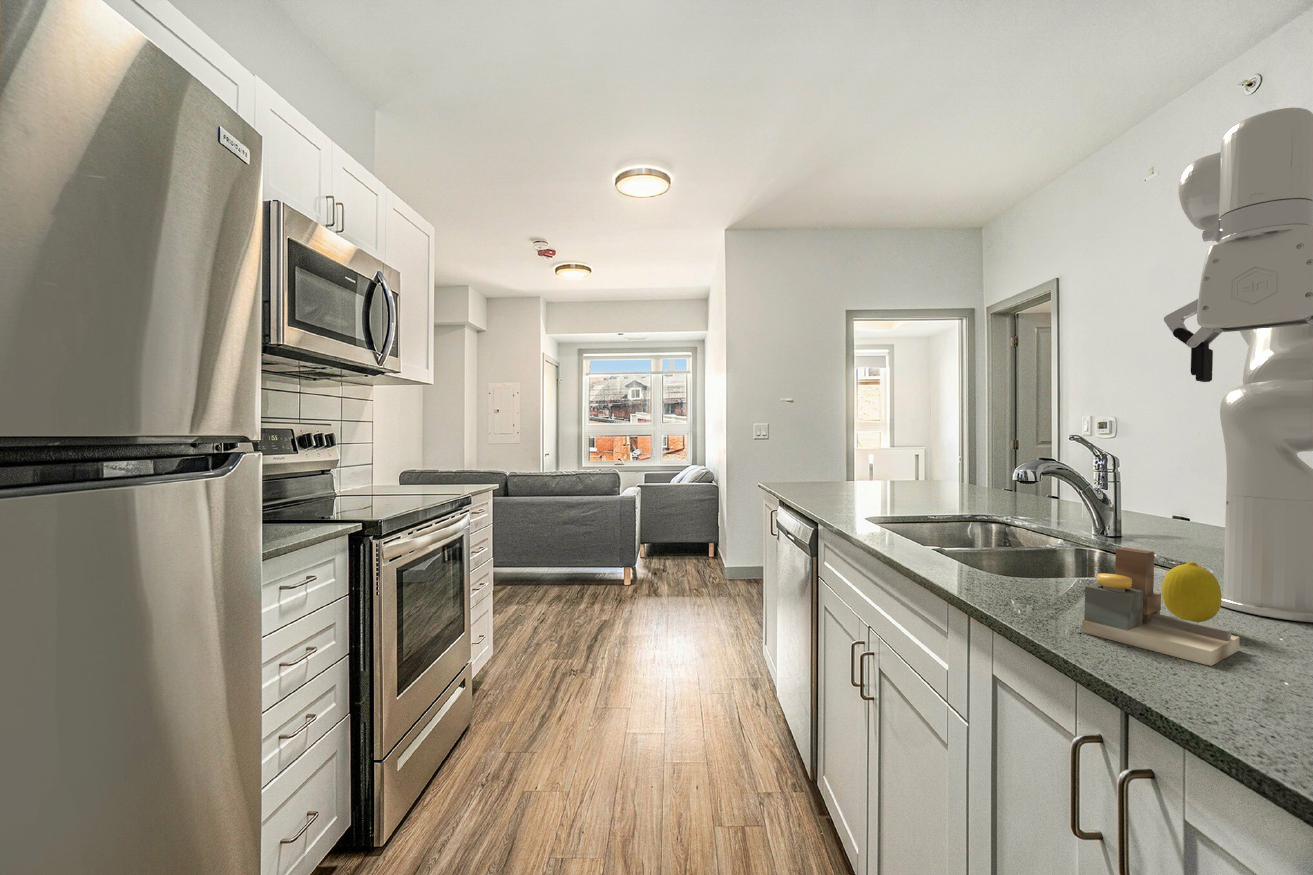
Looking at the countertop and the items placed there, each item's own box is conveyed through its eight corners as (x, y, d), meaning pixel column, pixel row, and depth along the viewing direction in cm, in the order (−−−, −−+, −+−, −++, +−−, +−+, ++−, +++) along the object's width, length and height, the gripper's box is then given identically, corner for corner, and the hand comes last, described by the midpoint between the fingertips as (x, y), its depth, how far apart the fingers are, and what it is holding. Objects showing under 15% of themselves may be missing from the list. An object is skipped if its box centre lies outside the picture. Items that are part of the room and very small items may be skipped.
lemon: (1232, 635, 70) (1234, 568, 70) (1178, 630, 71) (1180, 565, 71) (1200, 621, 75) (1202, 558, 75) (1150, 617, 76) (1152, 555, 76)
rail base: (1114, 621, 74) (1115, 577, 74) (1239, 650, 65) (1240, 600, 65) (1081, 632, 70) (1083, 586, 70) (1211, 665, 60) (1212, 612, 60)
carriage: (1120, 608, 73) (1122, 545, 73) (1160, 616, 70) (1162, 551, 70) (1106, 612, 71) (1108, 548, 71) (1146, 621, 68) (1148, 554, 68)
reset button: (1103, 613, 71) (1104, 572, 71) (1135, 621, 68) (1136, 578, 68) (1091, 617, 69) (1092, 575, 69) (1123, 625, 67) (1125, 581, 66)
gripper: (1155, 242, 72) (1151, 381, 72) (1376, 195, 57) (1371, 369, 57) (1178, 253, 76) (1174, 385, 76) (1390, 212, 61) (1386, 375, 61)
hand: (1259, 378), depth 67 cm, fingers open, 9 cm apart
